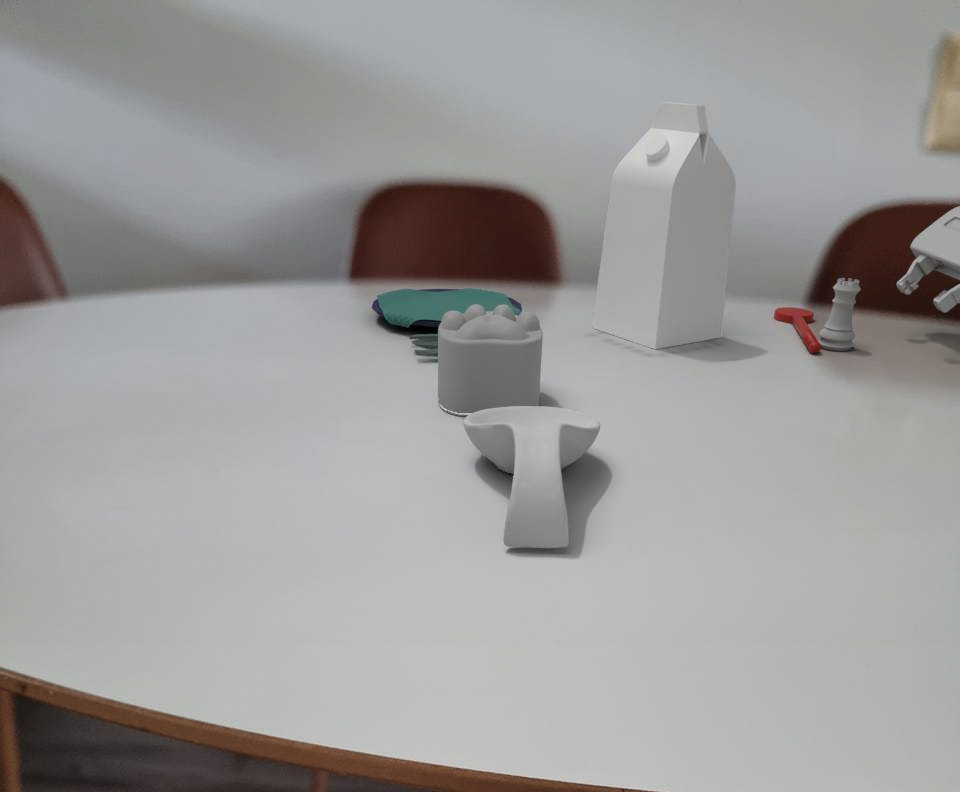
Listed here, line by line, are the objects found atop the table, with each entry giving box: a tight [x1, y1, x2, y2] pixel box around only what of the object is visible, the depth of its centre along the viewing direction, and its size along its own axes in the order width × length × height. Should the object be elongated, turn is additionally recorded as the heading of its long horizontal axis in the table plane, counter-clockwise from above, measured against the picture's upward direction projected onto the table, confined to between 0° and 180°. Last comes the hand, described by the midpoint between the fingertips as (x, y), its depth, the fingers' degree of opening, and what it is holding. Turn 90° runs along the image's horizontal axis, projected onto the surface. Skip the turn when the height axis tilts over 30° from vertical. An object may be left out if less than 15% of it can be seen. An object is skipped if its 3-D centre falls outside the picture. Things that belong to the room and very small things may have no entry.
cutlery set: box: [371, 287, 523, 356], centre depth 125 cm, size 20×30×2 cm, turn 10°
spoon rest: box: [463, 405, 601, 549], centre depth 79 cm, size 24×12×7 cm, turn 0°
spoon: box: [773, 306, 822, 355], centre depth 127 cm, size 21×5×1 cm, turn 172°
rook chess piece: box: [817, 277, 862, 352], centre depth 120 cm, size 4×4×8 cm
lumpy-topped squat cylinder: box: [437, 304, 544, 417], centre depth 99 cm, size 10×13×9 cm
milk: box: [591, 101, 737, 350], centre depth 119 cm, size 12×12×26 cm
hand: (918, 298), depth 120 cm, fingers open, 8 cm apart
